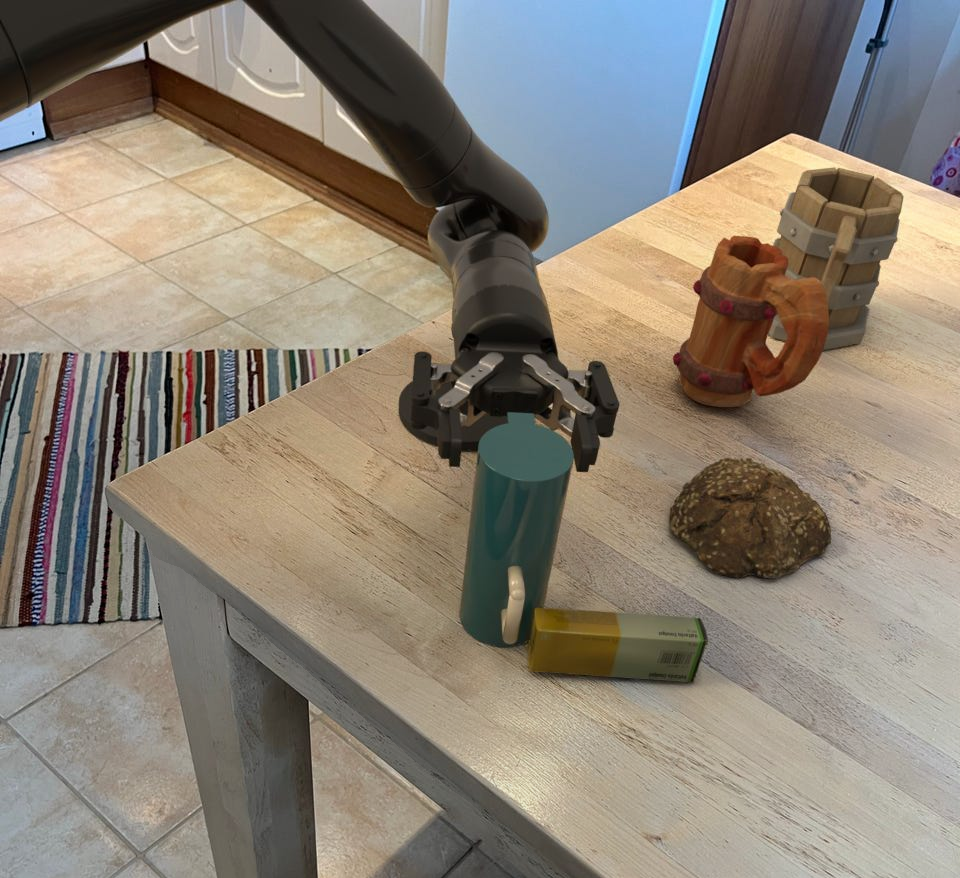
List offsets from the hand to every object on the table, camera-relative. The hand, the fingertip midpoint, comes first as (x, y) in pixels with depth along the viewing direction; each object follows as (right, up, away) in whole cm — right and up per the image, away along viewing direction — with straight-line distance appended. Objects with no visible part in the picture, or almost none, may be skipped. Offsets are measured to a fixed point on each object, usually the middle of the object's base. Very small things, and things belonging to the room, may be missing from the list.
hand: (521, 459), depth 64 cm
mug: (+21, +10, +30) cm, 38 cm away
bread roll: (+19, -3, +18) cm, 26 cm away
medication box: (+6, -14, +6) cm, 16 cm away
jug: (-1, -10, +8) cm, 13 cm away
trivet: (-5, +9, +25) cm, 27 cm away
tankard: (+31, +21, +41) cm, 56 cm away
